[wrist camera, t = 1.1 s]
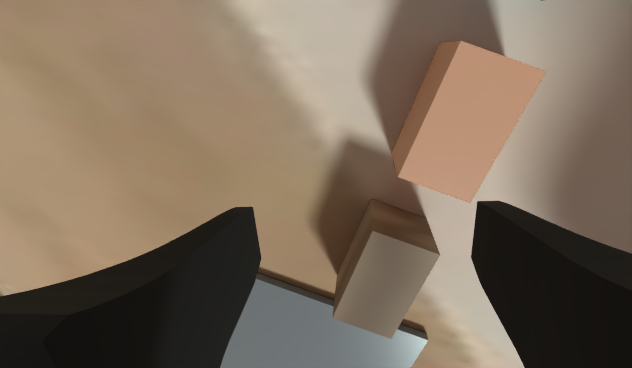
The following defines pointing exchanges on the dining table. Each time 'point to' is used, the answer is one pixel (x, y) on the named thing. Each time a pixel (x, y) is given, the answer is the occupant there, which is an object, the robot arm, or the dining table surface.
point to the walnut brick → (384, 269)
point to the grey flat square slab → (310, 334)
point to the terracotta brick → (462, 118)
